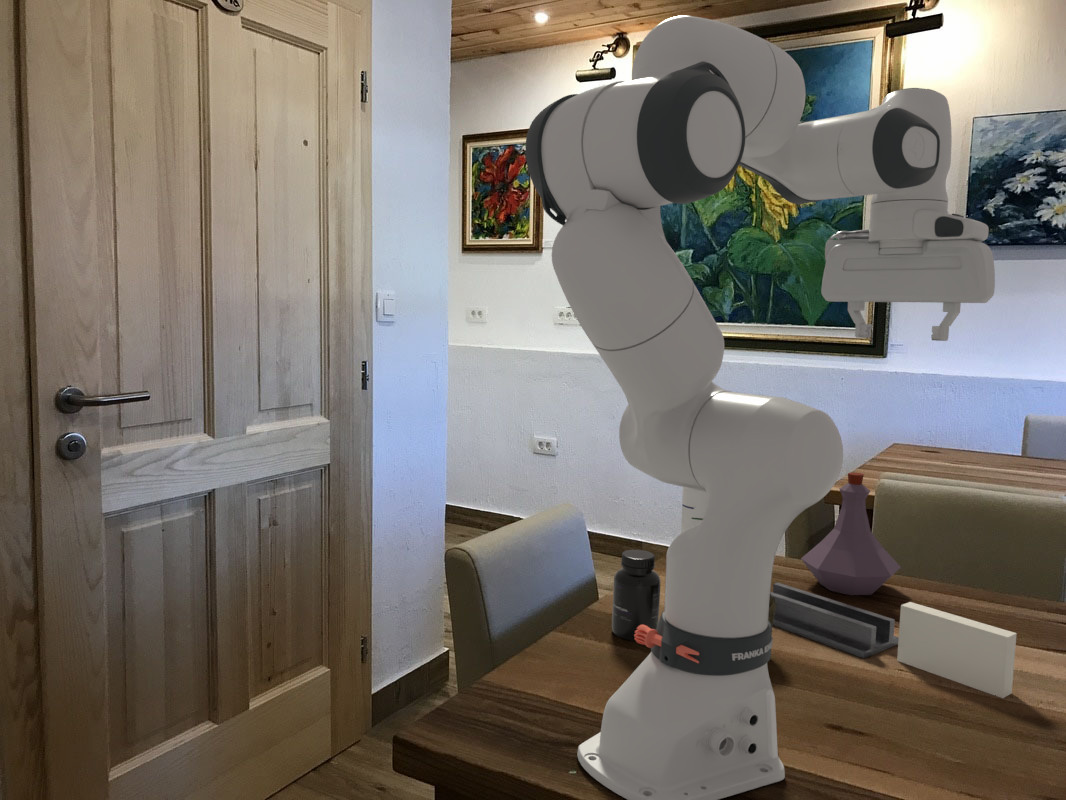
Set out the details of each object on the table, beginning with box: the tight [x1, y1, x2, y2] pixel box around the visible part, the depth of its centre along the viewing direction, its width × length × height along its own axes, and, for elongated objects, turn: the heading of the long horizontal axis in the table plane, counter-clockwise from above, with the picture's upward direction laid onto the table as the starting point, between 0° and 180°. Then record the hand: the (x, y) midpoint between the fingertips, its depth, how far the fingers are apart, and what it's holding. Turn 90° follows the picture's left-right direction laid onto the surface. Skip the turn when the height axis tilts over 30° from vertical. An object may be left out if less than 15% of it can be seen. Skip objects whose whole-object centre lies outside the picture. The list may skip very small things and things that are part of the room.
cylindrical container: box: [680, 487, 708, 534], centre depth 154 cm, size 7×7×25 cm
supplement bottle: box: [611, 549, 661, 642], centre depth 126 cm, size 7×7×12 cm
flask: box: [800, 472, 902, 596], centre depth 149 cm, size 16×16×20 cm
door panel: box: [896, 601, 1018, 699], centre depth 113 cm, size 14×2×8 cm, turn 38°
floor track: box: [770, 582, 899, 660], centre depth 129 cm, size 20×9×4 cm, turn 38°
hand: (900, 339), depth 108 cm, fingers open, 8 cm apart
